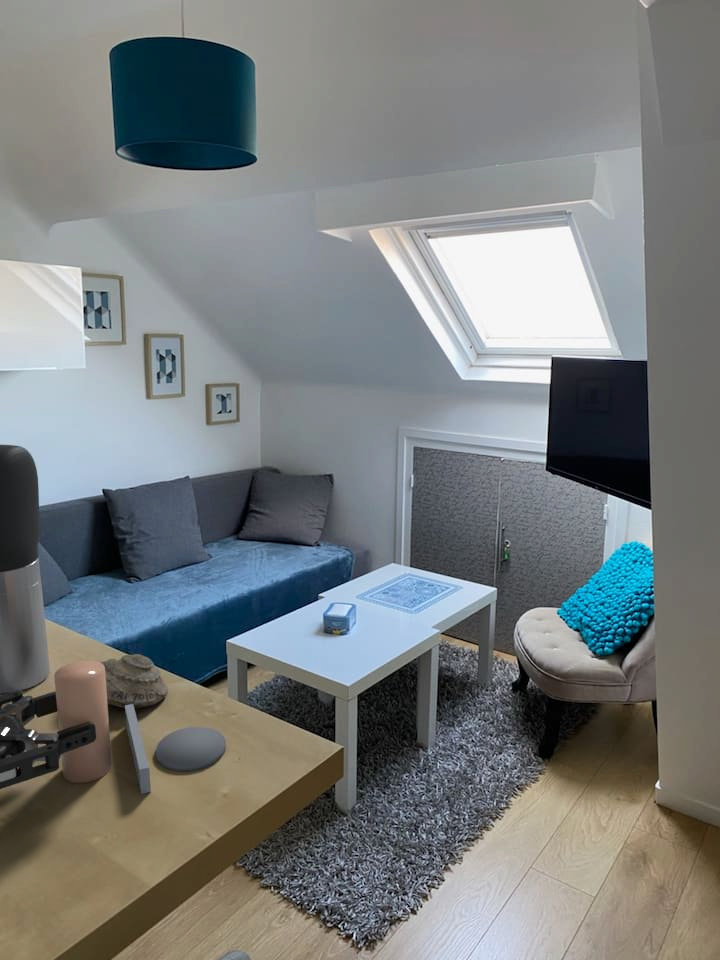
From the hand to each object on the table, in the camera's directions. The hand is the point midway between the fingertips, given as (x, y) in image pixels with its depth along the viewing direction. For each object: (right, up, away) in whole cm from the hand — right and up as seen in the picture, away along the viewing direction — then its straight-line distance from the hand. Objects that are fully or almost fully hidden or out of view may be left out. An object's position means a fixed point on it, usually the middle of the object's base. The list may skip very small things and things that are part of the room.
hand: (81, 713), depth 82 cm
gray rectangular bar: (+5, -6, +4) cm, 9 cm away
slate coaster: (+11, -6, +5) cm, 14 cm away
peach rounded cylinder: (0, -7, +2) cm, 7 cm away
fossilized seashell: (-1, -4, +17) cm, 17 cm away
